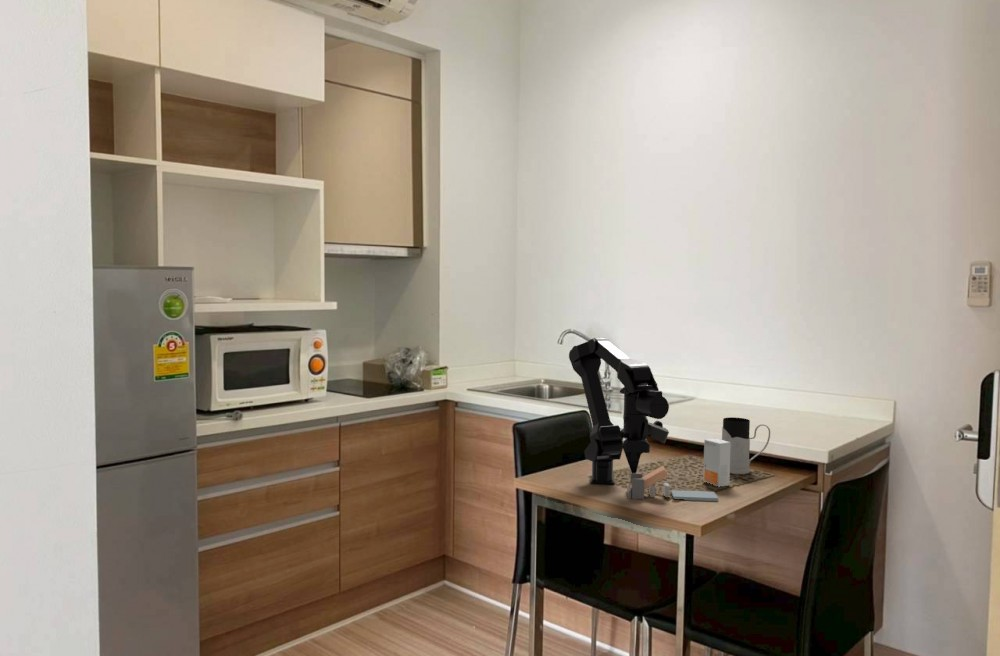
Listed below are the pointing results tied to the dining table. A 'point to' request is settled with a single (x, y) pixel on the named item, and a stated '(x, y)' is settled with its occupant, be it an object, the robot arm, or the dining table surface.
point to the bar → (654, 477)
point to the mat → (694, 495)
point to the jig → (639, 487)
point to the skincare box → (716, 462)
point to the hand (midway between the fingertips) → (633, 472)
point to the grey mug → (739, 443)
